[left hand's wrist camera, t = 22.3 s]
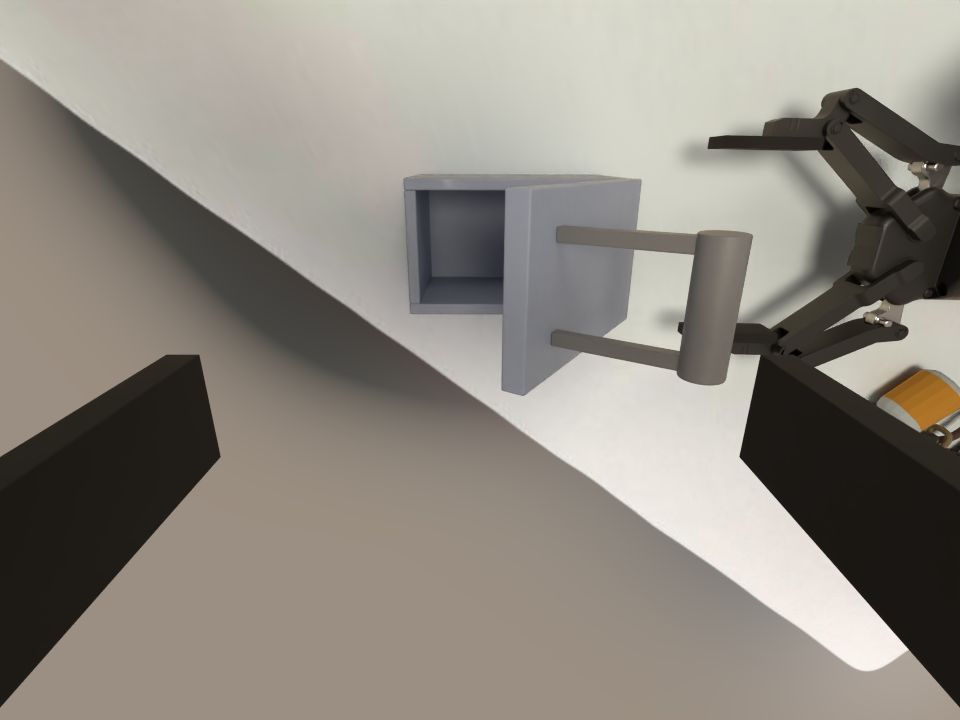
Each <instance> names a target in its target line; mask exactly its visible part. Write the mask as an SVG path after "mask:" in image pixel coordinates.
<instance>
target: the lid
mask: <svg viewBox="0 0 960 720" xmlns="http://www.w3.org/2000/svg"><path fill="white" fill-rule="evenodd" d="M641 182H642V180H641V179H614V180H601V181H588V182H575V183H562V184H549V185H536V186H523V187H510V188H506V190H505V231H504V284H503V338H502V390H503V391H506V392H510V393H514V394H518V395H521V396H524V395H526V394H527V393H528V392H530V391H531V390H532V389H534V388H535V387H536V386H538V385H539V384H540V383H542V382H543V381H544V380H546V379H547V378H548V377H550V376H551V375H552V374H554V373H555V372H556V371H558V370H559V369H560V368H561V367H563V366H564V365H565V364H567V363H568V362H569V361H571V360H572V359H573V358H575V357H576V356H577V355H579V354H580V353H581V352H585V353H590V354H595V355H600V356H605V357H610V358H615V359H620V360H625V361H630V362H635V363H640V364H645V365H650V366H655V367H660V368H665V369H670V370H675V371H677V375H678V376H679V377H680V378H681V379H683V380H685V381H688V382H691V383H695V384H700V385H719V384H722V383H724V382H725V380H726V376H727V371H728V365H729V360H730V355H731V349H732V344H733V339H734V334H735V328H736V323H737V318H738V312H739V307H740V302H741V296H742V291H743V286H744V281H745V275H746V270H747V265H748V259H749V254H750V249H751V244H752V238H753V235H752V234H749V233H745V232H737V231H723V230H708V231H700V232H698V234H683V233H669V232H654V231H640V230H636V228H637V219H638V209H639V200H640V191H641ZM634 249H635V250H647V251H658V252H669V253H681V254H692V255H694V260H693V267H692V273H691V280H690V287H689V293H688V300H687V307H686V313H685V320H684V327H683V333H682V340H681V346H680V351H675V350H670V349H664V348H659V347H653V346H647V345H642V344H636V343H631V342H625V341H620V340H614V339H609V338H603V336H604V335H605V334H607V333H608V332H609V331H611V330H612V329H613V328H615V327H616V326H617V325H619V324H620V323H621V322H622V321H624V320H625V319H626V318H627V311H628V301H629V292H630V283H631V274H632V265H633V255H634Z"/></svg>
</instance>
